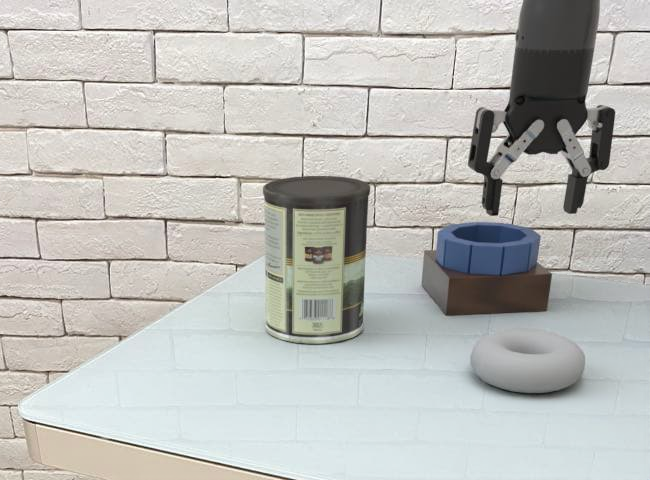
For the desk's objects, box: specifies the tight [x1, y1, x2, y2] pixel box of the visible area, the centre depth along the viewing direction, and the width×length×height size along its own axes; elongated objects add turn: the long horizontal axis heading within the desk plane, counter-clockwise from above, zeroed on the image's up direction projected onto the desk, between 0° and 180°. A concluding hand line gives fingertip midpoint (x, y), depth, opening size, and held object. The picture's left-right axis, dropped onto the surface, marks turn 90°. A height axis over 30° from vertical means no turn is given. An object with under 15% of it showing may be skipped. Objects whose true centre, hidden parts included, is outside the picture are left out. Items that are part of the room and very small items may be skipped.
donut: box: [469, 328, 586, 394], centre depth 86 cm, size 10×4×10 cm
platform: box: [421, 249, 553, 316], centre depth 106 cm, size 11×11×4 cm
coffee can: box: [262, 175, 371, 345], centre depth 96 cm, size 10×10×14 cm
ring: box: [435, 221, 542, 275], centre depth 104 cm, size 10×11×3 cm
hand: (531, 213), depth 103 cm, fingers open, 8 cm apart
